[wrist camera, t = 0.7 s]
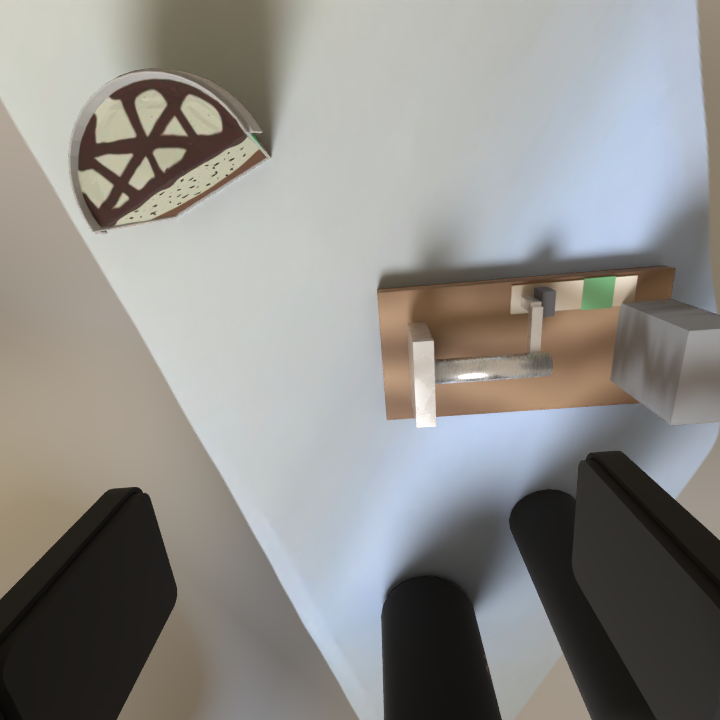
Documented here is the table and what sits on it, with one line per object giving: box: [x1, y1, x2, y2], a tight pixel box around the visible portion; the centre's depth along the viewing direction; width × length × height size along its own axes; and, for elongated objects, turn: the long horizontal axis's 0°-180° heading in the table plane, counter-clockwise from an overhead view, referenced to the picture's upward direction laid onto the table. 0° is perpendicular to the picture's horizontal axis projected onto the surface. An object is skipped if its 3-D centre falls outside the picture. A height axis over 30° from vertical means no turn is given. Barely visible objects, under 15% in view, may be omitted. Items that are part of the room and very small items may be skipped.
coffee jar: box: [381, 576, 502, 720], centre depth 41 cm, size 11×11×18 cm
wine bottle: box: [509, 489, 657, 720], centre depth 31 cm, size 8×8×30 cm
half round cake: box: [68, 68, 271, 234], centre depth 28 cm, size 12×6×10 cm, turn 119°
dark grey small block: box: [534, 286, 556, 317], centre depth 33 cm, size 2×1×2 cm, turn 5°
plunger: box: [407, 296, 553, 428], centre depth 33 cm, size 8×11×5 cm
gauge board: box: [377, 266, 720, 425], centre depth 33 cm, size 12×24×10 cm, turn 95°
